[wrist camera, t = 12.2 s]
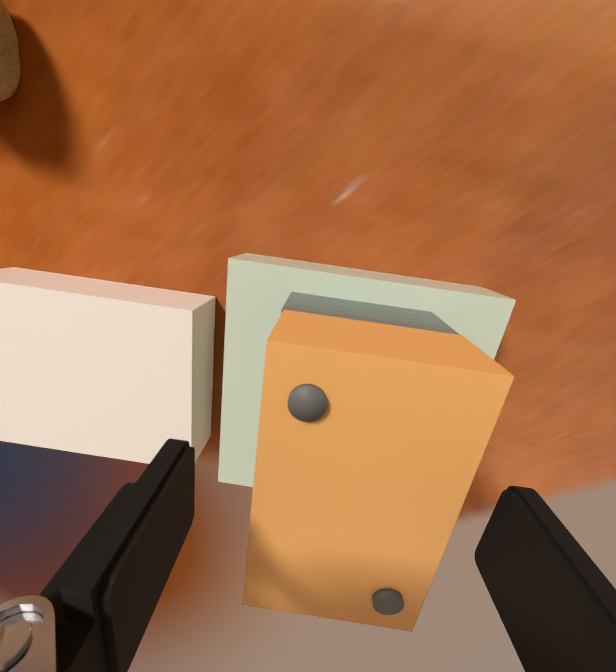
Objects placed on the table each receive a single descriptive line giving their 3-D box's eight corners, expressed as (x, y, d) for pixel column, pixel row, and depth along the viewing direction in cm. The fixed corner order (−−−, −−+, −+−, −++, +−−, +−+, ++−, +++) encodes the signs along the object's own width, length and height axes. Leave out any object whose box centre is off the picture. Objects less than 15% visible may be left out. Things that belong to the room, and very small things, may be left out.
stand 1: (41, 409, 20) (-8, 439, 17) (14, 267, 17) (-50, 275, 14) (210, 435, 19) (191, 470, 17) (215, 296, 16) (192, 310, 14)
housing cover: (283, 309, 10) (265, 343, 7) (462, 335, 10) (519, 380, 7) (259, 526, 14) (240, 611, 11) (394, 547, 14) (413, 638, 11)
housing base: (291, 291, 13) (281, 309, 10) (431, 312, 13) (460, 335, 10) (270, 474, 16) (258, 526, 14) (381, 492, 16) (392, 547, 14)
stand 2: (233, 445, 20) (218, 481, 17) (246, 252, 16) (228, 258, 13) (420, 473, 19) (436, 515, 17) (481, 286, 15) (516, 300, 13)
